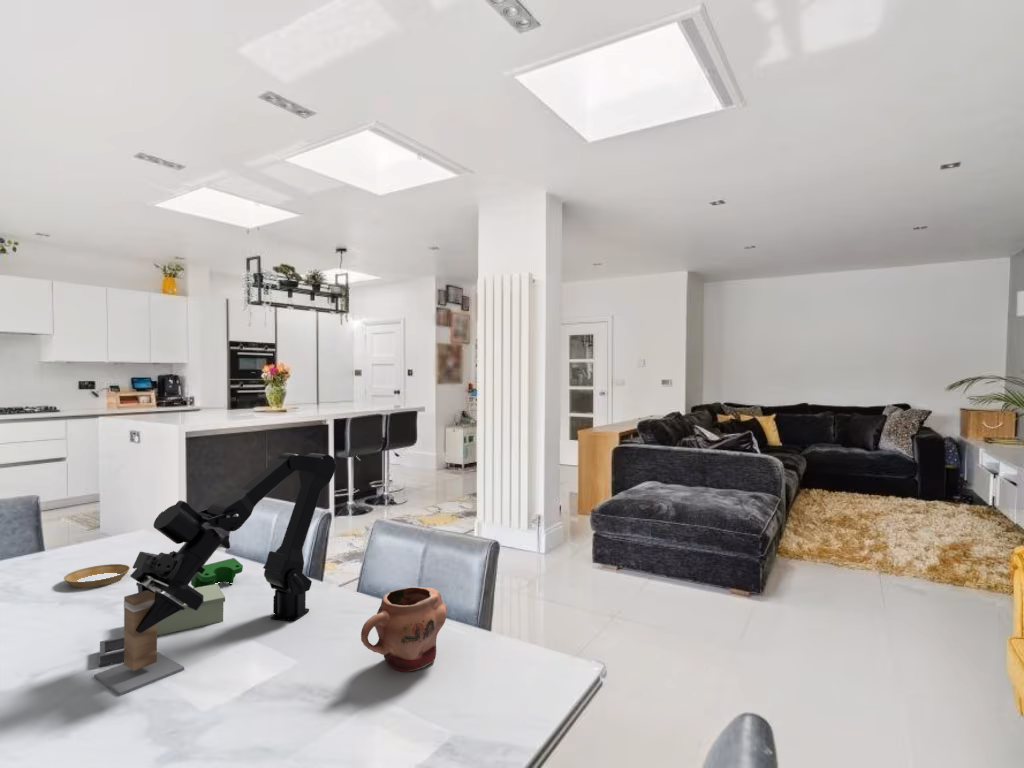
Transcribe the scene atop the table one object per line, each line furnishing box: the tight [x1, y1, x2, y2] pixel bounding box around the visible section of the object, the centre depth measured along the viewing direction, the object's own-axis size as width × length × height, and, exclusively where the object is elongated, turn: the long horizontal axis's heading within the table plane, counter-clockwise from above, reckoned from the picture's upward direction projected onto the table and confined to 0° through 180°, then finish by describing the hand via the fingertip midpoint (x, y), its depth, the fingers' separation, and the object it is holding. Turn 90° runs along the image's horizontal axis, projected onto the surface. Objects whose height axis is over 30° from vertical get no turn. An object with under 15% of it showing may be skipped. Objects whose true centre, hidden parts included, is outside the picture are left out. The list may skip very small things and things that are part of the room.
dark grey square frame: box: [99, 636, 124, 667], centre depth 115 cm, size 8×8×2 cm
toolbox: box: [157, 584, 226, 636], centre depth 130 cm, size 17×11×6 cm, turn 126°
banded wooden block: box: [123, 590, 158, 671], centre depth 107 cm, size 4×4×13 cm
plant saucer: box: [63, 563, 131, 589], centre depth 155 cm, size 15×15×3 cm
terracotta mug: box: [360, 586, 448, 672], centre depth 112 cm, size 20×12×14 cm, turn 143°
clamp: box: [190, 557, 244, 588], centre depth 153 cm, size 12×6×9 cm, turn 138°
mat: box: [93, 651, 185, 697], centre depth 107 cm, size 11×11×1 cm
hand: (132, 629), depth 106 cm, fingers closed on banded wooden block, 4 cm apart
